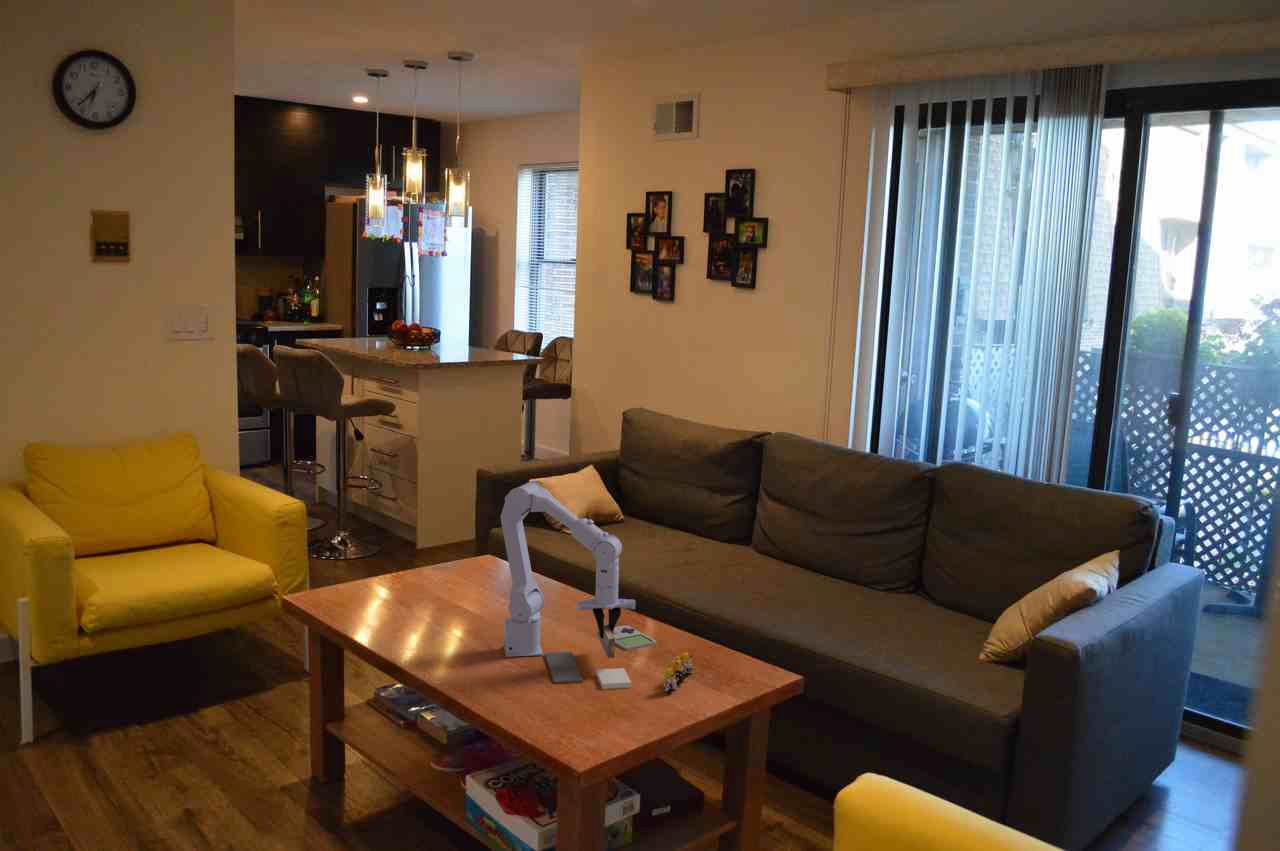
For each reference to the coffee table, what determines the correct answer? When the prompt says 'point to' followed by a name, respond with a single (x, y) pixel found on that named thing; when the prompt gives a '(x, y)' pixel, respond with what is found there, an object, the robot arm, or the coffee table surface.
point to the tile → (613, 678)
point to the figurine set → (677, 672)
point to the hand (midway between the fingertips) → (605, 636)
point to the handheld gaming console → (631, 638)
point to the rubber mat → (563, 667)
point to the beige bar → (607, 640)
